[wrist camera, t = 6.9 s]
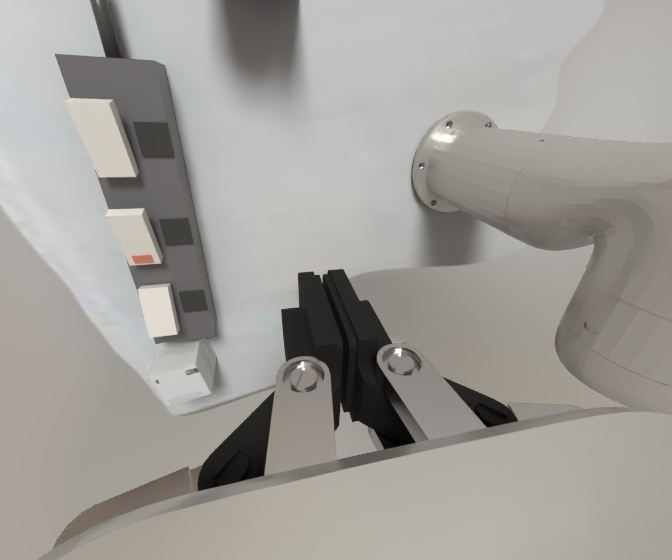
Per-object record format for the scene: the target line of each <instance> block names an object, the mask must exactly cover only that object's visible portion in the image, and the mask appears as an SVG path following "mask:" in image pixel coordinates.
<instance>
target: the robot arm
mask: <svg viewBox="0 0 672 560" xmlns="http://www.w3.org/2000/svg"><path fill="white" fill-rule="evenodd" d="M446 124H447V125H446ZM419 164H420V166H419ZM412 178H413V185H414V188H415V191H416V194H417V195H418V197H419V198H420V200H421V201H422V202H423V203H424V204H425V205H427V206H428V207H430V208H431V209H434V210H436V211H439V212H445V213H446V212H455V211H459V210H461V211H463V212H465V213H467V214H469V215H471V216H473V217H475V218H477V219H479V220H481V221H483V222H485V223H486V224H488V225H490V226H492V227H494V228H496V229H498V230H500V231H502V232H504V233H506V234H508V235H510V236H512V237H514V238H515V239H517V240H520V241H522V242H524V243H526V244H528V245H530V246H532V247H535V248H539V249H543V250H553V251H559V250H569V249H574V248H579V247H584V246H587V245H591V244H594V250H593V253H592V255H591V257H590V260H589V262H588V264H587V266H586V270H585V273H584V274H583V276H582V278H581V280H580V282H579V284H578V286H577V289H576V291H575V292H574V294H573V296H572V298H571V300H570V302H569V304H568V306H567V309H566V311H565V313H564V315H563V317H562V319H561V321H560V324H559V326H558V328H557V332H556V336H555V348H556V352H557V355H558V357H559V359H560V361H561V362H562V364H563V365H564V366H565V367H566V369H567V370H568V371H569V372H570V373H571V374H572V375H574V376H575V377H576V378H577V379H578V380H580V381H581V382H582V383H584V384H585V385H587V386H588V387H590V388H591V389H593V390H595V391H597V392H598V393H600V394H602V395H604V396H606V397H608V398H610V399H612V400H614V401H616V402H619V403H621V404H623V405H625V406H628V407H605V408H591V409H583V408H581V407H578V406H572V405H558V404H531V403H508V405H507V407H506V406H505V405H503V404H502V403H500V402H498V401H496V400H495V399H492V398H490V397H488V396H486V395H483V394H481V393H479V392H476V391H474V390H471V389H469V388H467V387H465V386H462V385H460V384H458V383H455V382H453V381H451V380H448V379H446V378H444V377H442V376H441V375H440V374H439V373H438V371H437V370H436V369H435V368H434V367H433V366H432V365H431V363H430V362H429V361H428V360H427V359H426V358H425V356H424V355H423V354H422V353H420V352H419V351H418V350H417V349H415V348H413V347H411V346H409V345H405V344H399V343H394V344H392V342H391V340H390V338H389V337H388V335H387V333H386V331H385V330H384V328H383V326H382V324H381V322H380V320H379V319H378V317H377V315H376V313H375V312H374V310H373V308H372V306H371V304H370V303H369V301H367V300H364V301H359V299H358V297H357V295H356V293H355V291H354V289H353V287H352V285H351V283H350V281H349V280H348V278H347V276H346V274H345V272H344V270H343V269H338V270H328V274H324V275H323V284H322V281H321V278H320V276H319V275H314V272H302V273H298V285H299V307H298V308H289V309H281V313H282V326H283V337H284V347H285V357H286V363H284V364H283V365H282V366H281V368H280V369H279V370H278V374H277V377H276V385H275V391H274V392H273V393H272V394H271V395H270V396H269V397H268V398H267V399H266V400H265V401H264V402H263V403H262V404H261V405H260V406H259V407H258V408H257V409H256V410H255V411H254V412H253V413H252V414H251V415H250V416H249V417H248V418H247V419H246V420H245V421H244V422H243V423H242V424H241V425H240V426H239V427H238V428H237V429H236V430H235V431H234V432H233V433H232V434H231V435H230V436H229V437H228V438H227V439H226V440H225V441H224V442H223V443H222V444H221V445H220V446H219V447H218V448H217V449H216V450H215V451H214V452H213V453H212V454H211V455H210V456H209V458H208V459H207V460H206V461H205V462H204V464H203V465H201V466H199V467H196V468H194V469H192V470H189V467H185V468H183V469H181V470H178V471H176V472H173V473H171V474H168V475H166V476H163V477H161V478H159V479H156V480H154V481H151V482H149V483H147V484H144V485H142V486H139V487H137V488H135V489H132V490H130V491H127V492H125V493H123V494H120V495H118V496H115V497H113V498H110V499H108V500H106V501H103V502H101V503H99V504H96V505H94V506H92V507H91V508H89V509H87V510H85V511H84V512H82V513H81V514H79V515H78V516H77V517H76V518H75V519H74V520H73V521H72V522H70V523H69V524H68V525H67V527H66V528H65V529H64V531H63V532H62V534H61V535H60V536H59V537H58V539H57V541H56V543H55V545H54V548H53V549H52V550H51V551H49V552H48V553H46V554H45V555H43V556H41V557H40V558H38V559H36V560H672V143H641V142H626V141H611V140H599V139H589V138H580V137H570V136H561V135H551V134H542V133H534V132H525V131H516V130H507V129H498V127H497V126H496V124H495V123H494V121H493V120H492V119H491V118H489V117H488V116H487V115H485V114H483V113H480V112H475V111H461V112H456V113H453V114H451V115H448V116H446V117H444V118H443V119H441V120H440V121H439V122H437V123H436V124H435V125H434V126H433V127H432V128H431V129H430V130H429V131H428V133H427V134H426V135H425V137H424V138H423V140H422V141H421V143H420V145H419V147H418V149H417V152H416V155H415V158H414V163H413V170H412ZM431 201H432V202H431ZM340 402H341V404H342V408H343V411H344V412H350V416H351V419H352V422H354V421H360V422H361V423H363V424H365V425H366V426H368V432H369V435H370V437H371V439H372V441H373V443H374V445H375V447H376V449H377V451H376V452H372V453H367V454H362V455H357V456H353V457H348V458H343V459H339V460H336V446H335V433H334V432H335V430H336V429H337V427H338V426H339V416H340ZM629 407H630V408H629Z"/></svg>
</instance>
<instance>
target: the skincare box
mask: <svg viewBox="0 0 672 560" xmlns="http://www.w3.org/2000/svg"><path fill="white" fill-rule="evenodd" d="M215 365H216V355H215V354H214V352H213V350H212V348H211V346H210V344H209V342H208V340H207V338H199V339H191V340H183V341H175V342H167V343H160V344H159V347H158V350H157V352H156V355H155V358H154V361H153V363H152V366H151V369H150V372H149V374H148V377H147V379H148V380H149V382H150V383H151V384H152V385H153V387H154V388H155V389H156V391H157V392H158V393H159V395H160V396H161V398H162V399H163V401H164V402H165V403H166V405H167V406H168V407H170V406H173V405H176V404H180V403H183V402H186V401H190V400H193V399H196V398H200V397H203V396H207V395H210V394H212V390H213V382H214V373H215Z"/></svg>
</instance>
